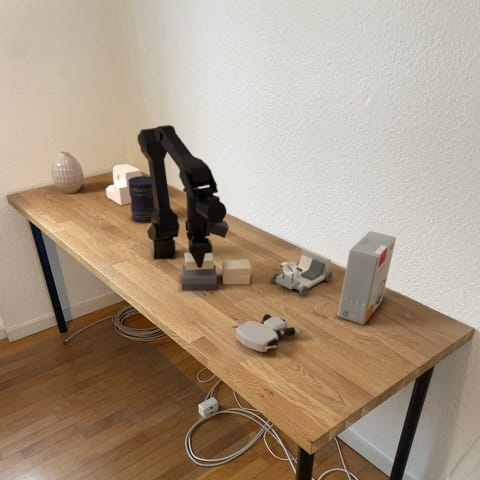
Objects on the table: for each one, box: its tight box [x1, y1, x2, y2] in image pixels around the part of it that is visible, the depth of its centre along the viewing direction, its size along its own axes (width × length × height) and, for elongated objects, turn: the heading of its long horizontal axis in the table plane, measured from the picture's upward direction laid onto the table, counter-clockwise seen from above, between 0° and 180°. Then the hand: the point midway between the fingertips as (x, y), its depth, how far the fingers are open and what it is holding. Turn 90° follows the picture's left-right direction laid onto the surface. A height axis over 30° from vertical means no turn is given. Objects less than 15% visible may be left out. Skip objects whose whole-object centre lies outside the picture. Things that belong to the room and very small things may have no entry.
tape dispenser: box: [105, 163, 142, 206], centre depth 201 cm, size 16×10×13 cm, turn 41°
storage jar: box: [128, 175, 155, 224], centre depth 181 cm, size 10×10×15 cm
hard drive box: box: [337, 230, 397, 326], centre depth 128 cm, size 16×8×20 cm, turn 148°
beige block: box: [221, 258, 252, 285], centre depth 145 cm, size 8×6×5 cm
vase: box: [50, 150, 84, 194], centre depth 206 cm, size 13×13×17 cm
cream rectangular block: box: [183, 252, 215, 270], centre depth 140 cm, size 8×6×3 cm
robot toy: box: [228, 313, 301, 353], centre depth 119 cm, size 12×4×15 cm
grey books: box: [181, 264, 218, 291], centre depth 143 cm, size 10×9×4 cm
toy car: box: [270, 248, 333, 297], centre depth 142 cm, size 18×10×12 cm
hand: (199, 262), depth 140 cm, fingers closed on cream rectangular block, 6 cm apart
